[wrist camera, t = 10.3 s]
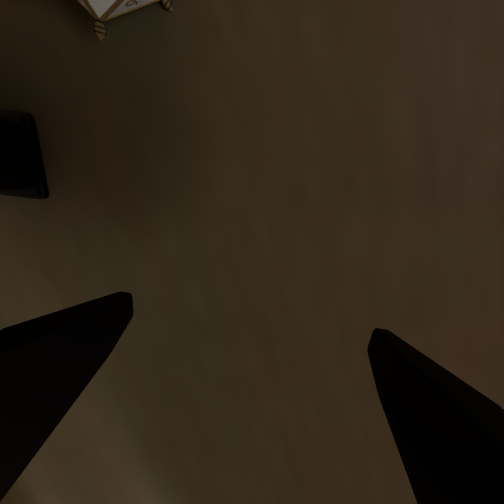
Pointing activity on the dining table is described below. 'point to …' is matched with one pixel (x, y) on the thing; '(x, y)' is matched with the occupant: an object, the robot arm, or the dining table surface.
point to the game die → (114, 10)
